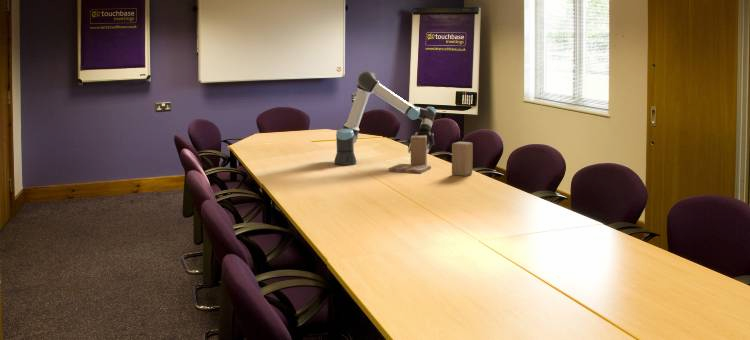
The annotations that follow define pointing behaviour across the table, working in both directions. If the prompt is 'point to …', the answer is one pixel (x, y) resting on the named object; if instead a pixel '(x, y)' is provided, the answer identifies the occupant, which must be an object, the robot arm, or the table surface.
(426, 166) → the marked board
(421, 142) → the wooden block
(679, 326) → the table surface
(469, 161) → the block
